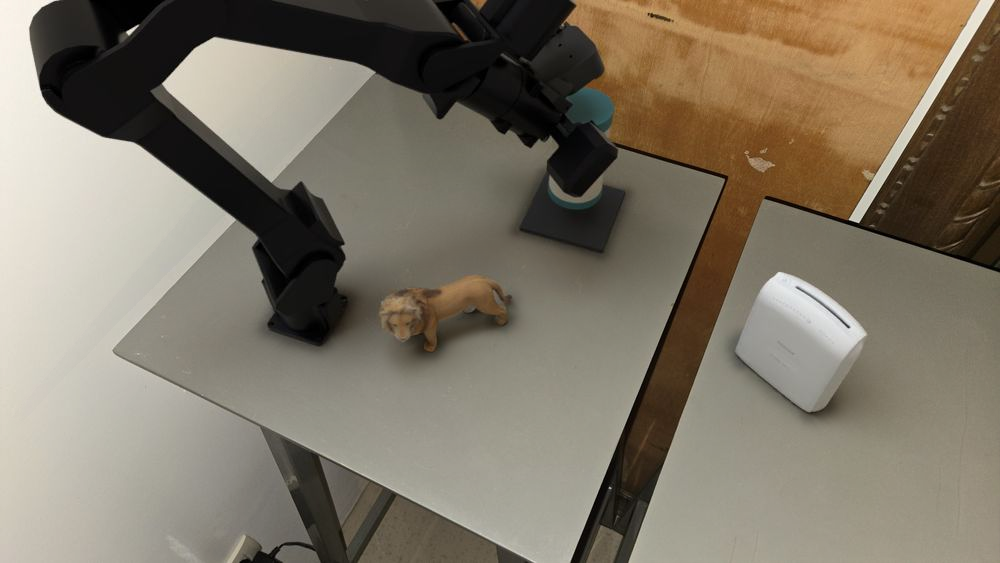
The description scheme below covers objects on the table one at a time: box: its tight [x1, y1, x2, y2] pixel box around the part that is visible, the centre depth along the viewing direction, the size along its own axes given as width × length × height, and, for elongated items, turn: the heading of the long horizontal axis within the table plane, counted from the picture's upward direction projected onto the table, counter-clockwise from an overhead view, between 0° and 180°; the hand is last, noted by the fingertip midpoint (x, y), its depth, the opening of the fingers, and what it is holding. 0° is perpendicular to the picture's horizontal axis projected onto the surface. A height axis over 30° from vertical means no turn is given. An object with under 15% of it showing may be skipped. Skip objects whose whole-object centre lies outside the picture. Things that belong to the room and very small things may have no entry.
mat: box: [518, 171, 626, 254], centre depth 89 cm, size 10×10×1 cm
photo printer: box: [734, 271, 868, 413], centre depth 71 cm, size 10×4×12 cm, turn 39°
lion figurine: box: [378, 274, 513, 353], centre depth 76 cm, size 15×5×9 cm, turn 122°
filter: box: [548, 87, 615, 210], centre depth 82 cm, size 6×6×12 cm
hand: (590, 142), depth 82 cm, fingers closed on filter, 6 cm apart
